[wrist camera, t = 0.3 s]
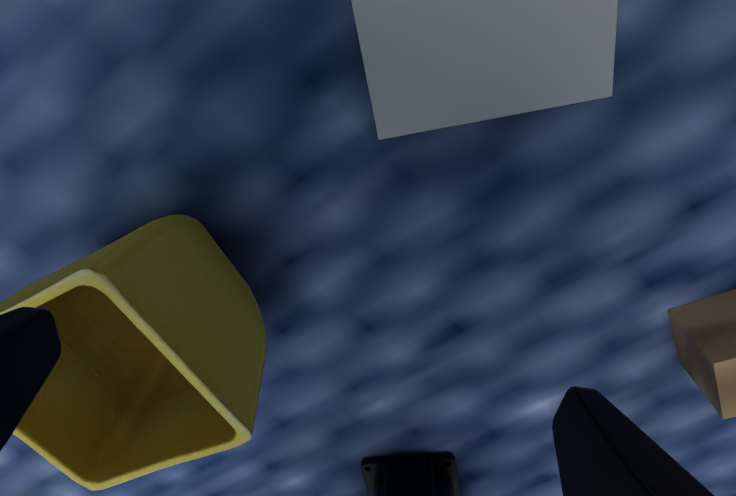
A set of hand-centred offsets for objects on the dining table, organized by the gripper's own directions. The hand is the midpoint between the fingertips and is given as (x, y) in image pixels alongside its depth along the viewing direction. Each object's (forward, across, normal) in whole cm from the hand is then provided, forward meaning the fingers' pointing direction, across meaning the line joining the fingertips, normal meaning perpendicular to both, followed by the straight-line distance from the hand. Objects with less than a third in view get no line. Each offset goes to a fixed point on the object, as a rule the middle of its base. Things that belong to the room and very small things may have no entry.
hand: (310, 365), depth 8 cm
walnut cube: (+14, -20, +7) cm, 25 cm away
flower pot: (+14, +8, +8) cm, 18 cm away
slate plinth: (+14, -3, -6) cm, 16 cm away
